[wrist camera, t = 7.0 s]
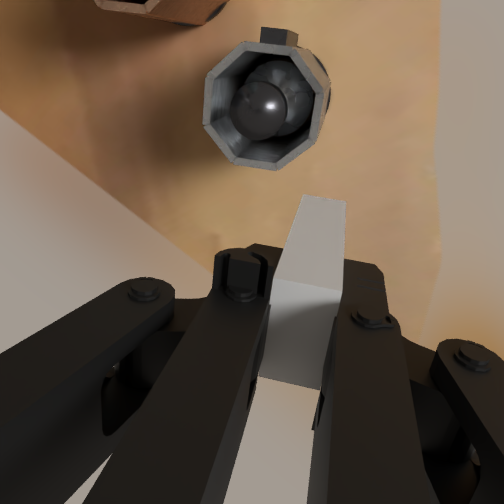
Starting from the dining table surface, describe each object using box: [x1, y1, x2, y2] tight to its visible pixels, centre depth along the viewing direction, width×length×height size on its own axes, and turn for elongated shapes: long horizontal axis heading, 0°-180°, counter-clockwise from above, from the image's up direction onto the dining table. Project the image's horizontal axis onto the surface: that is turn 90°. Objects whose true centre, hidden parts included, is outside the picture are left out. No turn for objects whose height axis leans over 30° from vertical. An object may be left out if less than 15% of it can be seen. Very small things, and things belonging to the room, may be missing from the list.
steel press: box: [202, 27, 331, 171], centre depth 40 cm, size 9×10×14 cm
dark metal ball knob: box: [230, 60, 313, 140], centre depth 37 cm, size 7×7×11 cm
